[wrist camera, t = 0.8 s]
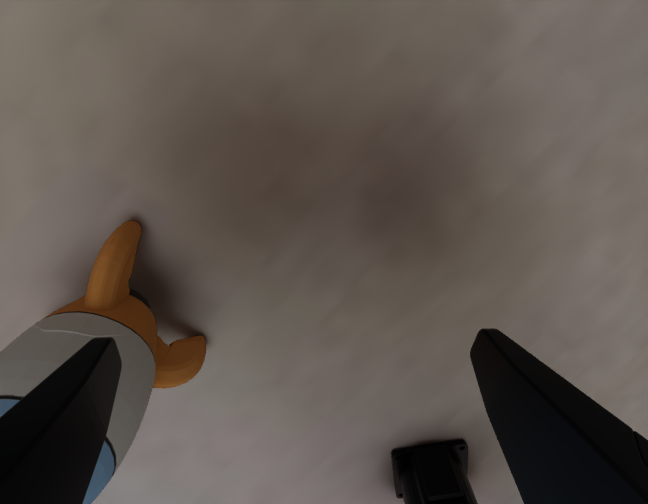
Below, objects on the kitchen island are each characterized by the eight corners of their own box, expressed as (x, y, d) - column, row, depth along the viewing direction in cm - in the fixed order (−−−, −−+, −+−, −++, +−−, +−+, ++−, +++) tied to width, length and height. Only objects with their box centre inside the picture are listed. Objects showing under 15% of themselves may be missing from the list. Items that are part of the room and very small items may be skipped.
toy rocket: (106, 188, 23) (-3, 382, 10) (246, 280, 28) (289, 479, 16) (5, 308, 24) (-197, 605, 12) (157, 372, 30) (130, 620, 17)
